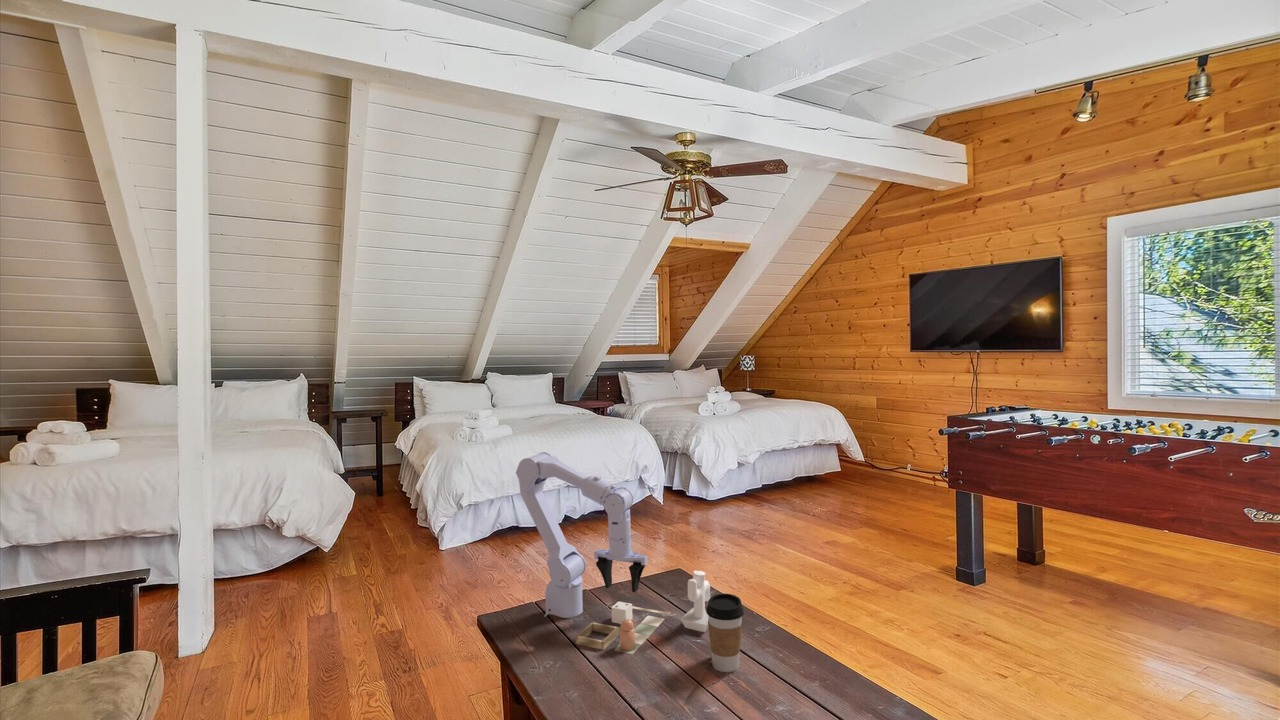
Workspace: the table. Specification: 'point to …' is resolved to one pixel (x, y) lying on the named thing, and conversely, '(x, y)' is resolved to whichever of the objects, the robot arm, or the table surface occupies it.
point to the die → (621, 612)
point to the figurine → (697, 603)
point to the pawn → (627, 635)
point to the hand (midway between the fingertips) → (621, 588)
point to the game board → (614, 632)
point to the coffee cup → (725, 631)
